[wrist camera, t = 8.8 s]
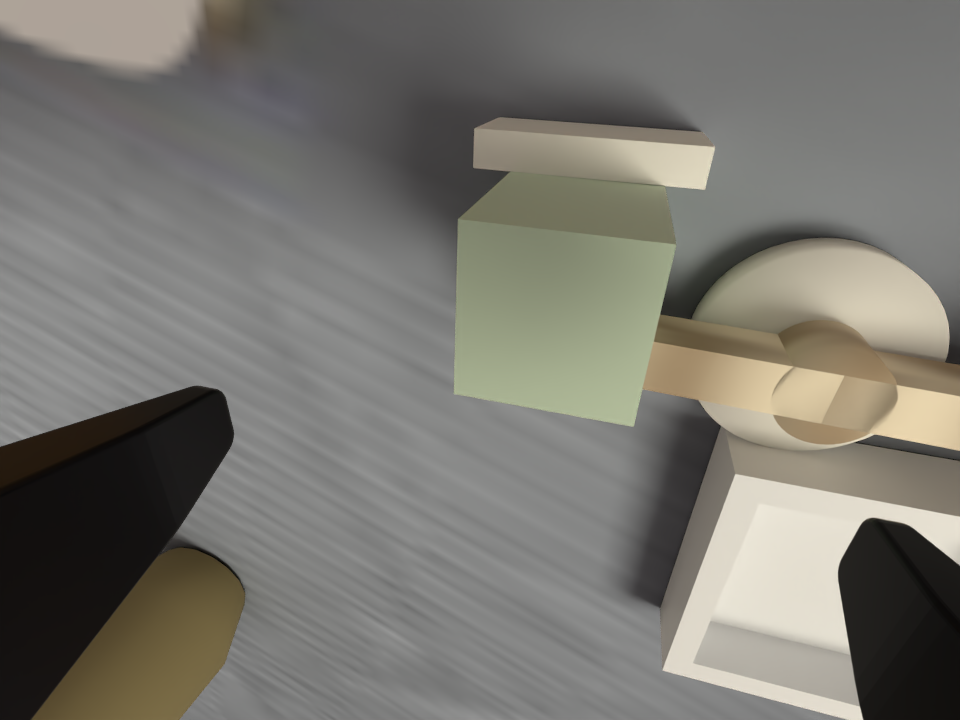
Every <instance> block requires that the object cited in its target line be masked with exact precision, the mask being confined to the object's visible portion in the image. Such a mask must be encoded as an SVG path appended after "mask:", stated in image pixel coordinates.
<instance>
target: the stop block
mask: <svg viewBox="0 0 960 720" xmlns="http://www.w3.org/2000/svg"><path fill="white" fill-rule="evenodd" d="M675 249H676V240H675V235H674V230H673V225H672V219H671V214H670V209H669V204H668V199H667V194H666V189H665V186H660V185H650V184H639V183H628V182H618V181H607V180H596V179H585V178H575V177H564V176H553V175H543V174H532V173H521V172H510V173H508V174H507V175H506V176H505V177H504V178H503V179H502V180H501V181H500V182H499V183H497V184H496V185H495V186H494V187H493V188H492V189H491V190H490V191H489V192H487V193H486V194H485V195H484V196H483V197H482V198H481V199H480V200H479V201H477V202H476V203H475V204H474V205H473V206H472V207H471V208H470V209H469V210H468V211H466V212H465V213H464V214H463V215H462V216H461V217H460V218H459V219H458V240H457V283H456V326H455V368H454V394H457V395H463V396H468V397H474V398H479V399H485V400H490V401H496V402H501V403H506V404H512V405H517V406H523V407H528V408H534V409H539V410H545V411H550V412H556V413H561V414H567V415H572V416H577V417H583V418H588V419H594V420H599V421H605V422H610V423H616V424H621V425H627V426H632V427H634V423H635V418H636V414H637V410H638V406H639V401H640V397H641V393H642V389H643V384H644V380H645V376H646V372H647V367H648V363H649V359H650V355H651V350H652V346H653V342H654V338H655V334H656V329H657V325H658V321H659V317H660V312H661V308H662V304H663V300H664V295H665V291H666V287H667V283H668V278H669V274H670V270H671V266H672V261H673V257H674V253H675Z"/></svg>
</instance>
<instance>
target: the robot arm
mask: <svg viewBox="0 0 960 720" xmlns="http://www.w3.org/2000/svg"><path fill="white" fill-rule="evenodd" d="M233 438H234V430H233V426H232V422H231V417H230V413H229V409H228V405H227V401H226V397H225V395H224V394H223V393H222V392H221V391H220V390H218V389H213V388H208V387H203V386H192V387H188V388H185V389H182V390H179V391H176V392H172V393H169V394H166V395H163V396H160V397H157V398H153V399H150V400H147V401H144V402H141V403H138V404H134V405H131V406H128V407H125V408H122V409H119V410H115V411H112V412H109V413H106V414H103V415H100V416H96V417H93V418H90V419H87V420H84V421H81V422H77V423H74V424H71V425H68V426H65V427H62V428H58V429H55V430H52V431H49V432H46V433H43V434H39V435H36V436H33V437H30V438H27V439H24V440H20V441H17V442H14V443H11V444H8V445H5V446H1V447H0V720H31V719H32V718H33V717H34V716H35V714H36V713H37V712H38V710H39V709H40V708H41V707H42V705H43V704H44V703H45V701H46V700H47V699H48V698H49V696H50V695H51V694H52V692H53V691H54V690H55V688H56V687H57V686H58V685H59V683H60V682H61V681H62V679H63V678H64V677H65V676H66V674H67V673H68V672H69V670H70V669H71V668H72V667H73V665H74V664H75V663H76V661H77V660H78V659H79V657H80V656H81V655H82V654H83V652H84V651H85V650H86V648H87V647H88V646H89V645H90V643H91V642H92V641H93V639H94V638H95V637H96V636H97V634H98V633H99V632H100V630H101V629H102V628H103V626H104V625H105V624H106V623H107V621H108V620H109V619H110V617H111V616H112V615H113V614H114V612H115V611H116V610H117V608H118V607H119V606H120V605H121V603H122V602H123V601H124V599H125V598H126V597H127V596H128V594H129V593H130V592H131V590H132V589H133V588H134V586H135V585H136V584H137V583H138V581H139V580H140V579H141V577H142V576H143V575H144V574H145V572H146V571H147V570H148V568H149V567H150V566H151V565H152V563H153V562H154V561H155V559H156V558H157V557H158V555H159V554H160V553H161V552H162V550H163V549H164V548H165V546H166V545H167V544H168V543H169V541H170V540H171V538H172V537H173V536H174V534H175V533H176V532H177V530H178V529H179V527H180V526H181V524H182V523H183V521H184V520H185V518H186V517H187V515H188V514H189V512H190V511H191V509H192V508H193V506H194V504H195V503H196V501H197V500H198V498H199V497H200V495H201V493H202V492H203V490H204V489H205V487H206V486H207V484H208V482H209V481H210V479H211V478H212V476H213V474H214V473H215V471H216V470H217V468H218V467H219V465H220V463H221V462H222V460H223V459H224V457H225V456H226V454H227V452H228V451H229V449H230V447H231V445H232V443H233ZM838 583H839V589H840V595H841V601H842V607H843V613H844V619H845V625H846V631H847V638H848V644H849V650H850V656H851V662H852V668H853V674H854V680H855V685H856V690H857V695H858V700H859V705H860V709H861V713H862V717H863V720H960V565H959V564H957V563H956V562H955V561H954V560H952V559H951V558H950V557H949V556H947V555H946V554H945V553H944V552H942V551H941V550H940V549H939V548H937V547H936V546H935V545H934V544H932V543H931V542H930V541H929V540H927V539H926V538H925V537H924V536H922V535H921V534H920V533H919V532H917V531H916V530H915V529H914V528H912V527H911V526H909V525H907V524H904V523H901V522H895V521H890V520H885V519H880V518H868V519H866V520H865V521H863V522H862V524H861V525H860V526H859V528H858V530H857V532H856V534H855V535H854V537H853V539H852V541H851V542H850V544H849V546H848V548H847V550H846V551H845V553H844V555H843V557H842V558H841V561H840V563H839V567H838Z"/></svg>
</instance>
